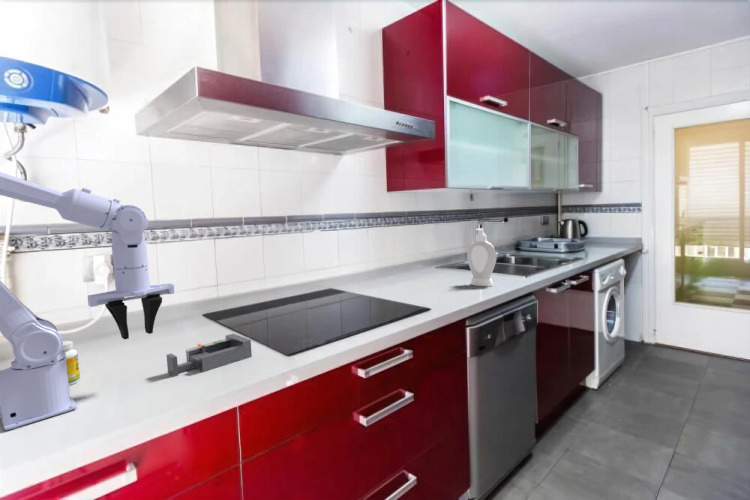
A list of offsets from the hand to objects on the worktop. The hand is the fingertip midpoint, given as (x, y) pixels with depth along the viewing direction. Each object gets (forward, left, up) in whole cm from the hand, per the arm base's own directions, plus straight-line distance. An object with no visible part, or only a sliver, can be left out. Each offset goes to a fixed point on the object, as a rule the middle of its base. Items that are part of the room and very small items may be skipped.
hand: (137, 335), depth 79 cm
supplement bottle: (-10, +13, -10) cm, 19 cm away
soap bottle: (+129, -6, -10) cm, 130 cm away
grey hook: (+10, +1, -10) cm, 14 cm away
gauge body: (+16, 0, -10) cm, 19 cm away
